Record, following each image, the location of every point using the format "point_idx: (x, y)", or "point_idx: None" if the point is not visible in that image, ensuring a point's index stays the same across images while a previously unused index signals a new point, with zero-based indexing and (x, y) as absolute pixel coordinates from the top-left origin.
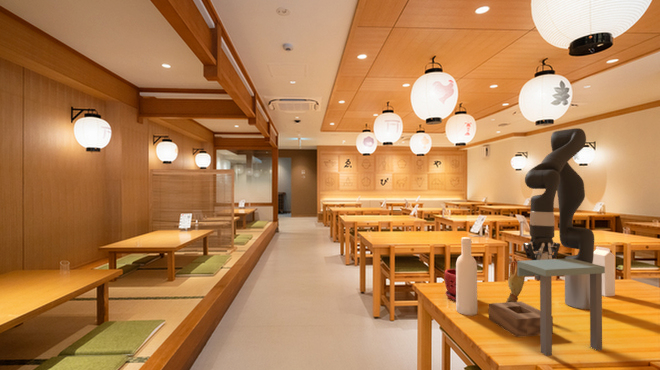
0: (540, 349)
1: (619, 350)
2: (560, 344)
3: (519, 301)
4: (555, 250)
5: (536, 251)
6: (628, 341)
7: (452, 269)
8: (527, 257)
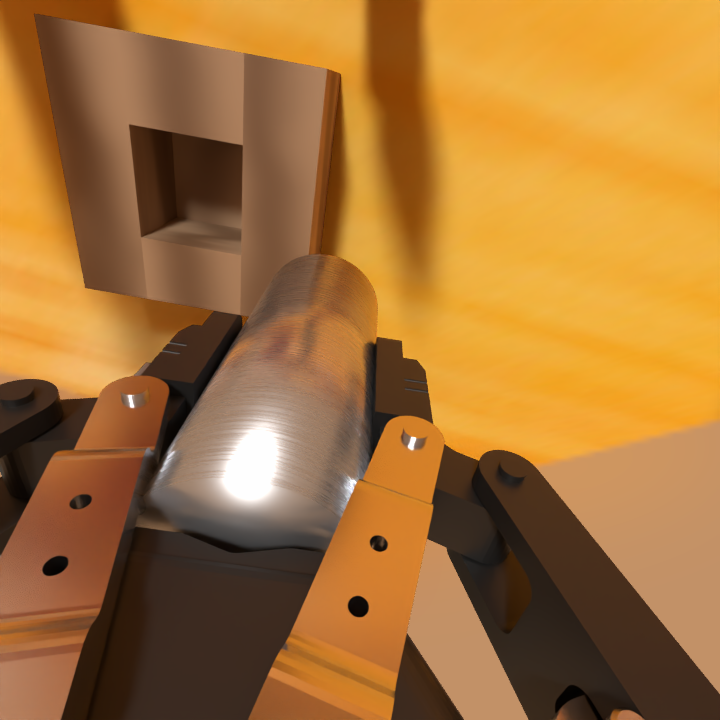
0: (141, 367)
1: None
2: None
3: (312, 66)
4: (512, 686)
5: (163, 512)
6: (531, 418)
7: None
8: (8, 390)
